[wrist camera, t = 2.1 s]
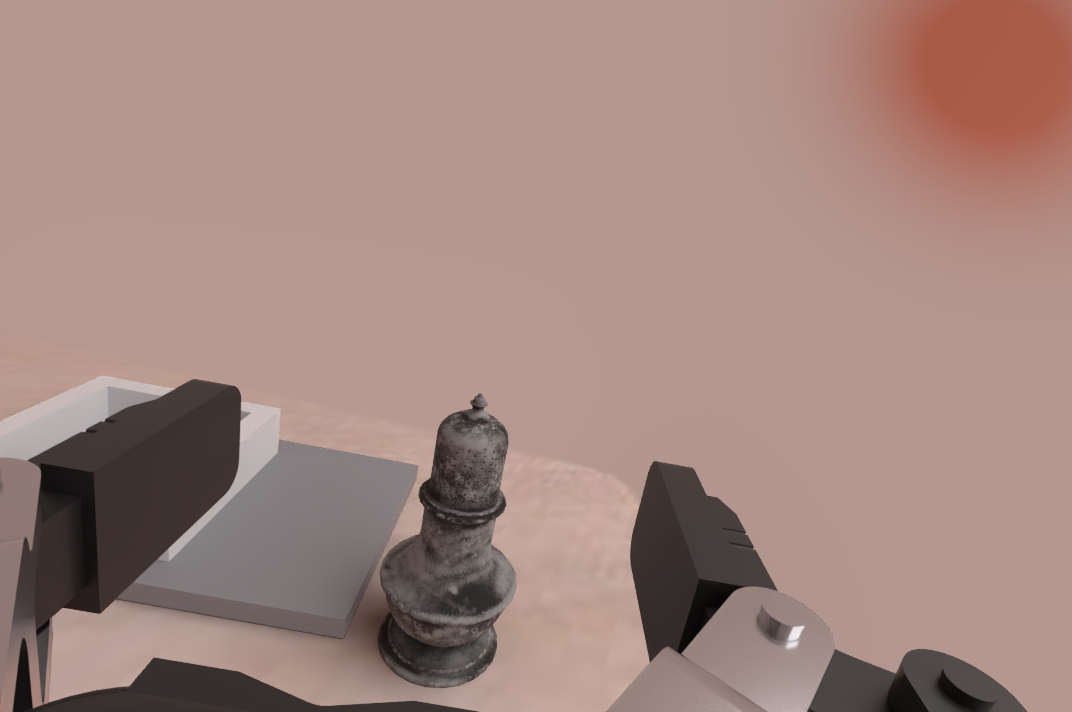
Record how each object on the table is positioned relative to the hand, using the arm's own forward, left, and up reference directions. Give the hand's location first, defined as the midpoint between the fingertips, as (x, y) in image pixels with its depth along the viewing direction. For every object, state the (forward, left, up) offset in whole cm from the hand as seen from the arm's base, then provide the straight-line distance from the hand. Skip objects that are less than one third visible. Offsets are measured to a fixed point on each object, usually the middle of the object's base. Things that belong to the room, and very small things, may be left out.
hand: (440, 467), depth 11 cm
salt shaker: (0, +11, -15) cm, 19 cm away
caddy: (-14, +17, -15) cm, 27 cm away
